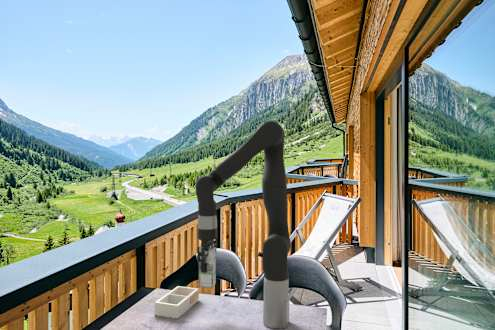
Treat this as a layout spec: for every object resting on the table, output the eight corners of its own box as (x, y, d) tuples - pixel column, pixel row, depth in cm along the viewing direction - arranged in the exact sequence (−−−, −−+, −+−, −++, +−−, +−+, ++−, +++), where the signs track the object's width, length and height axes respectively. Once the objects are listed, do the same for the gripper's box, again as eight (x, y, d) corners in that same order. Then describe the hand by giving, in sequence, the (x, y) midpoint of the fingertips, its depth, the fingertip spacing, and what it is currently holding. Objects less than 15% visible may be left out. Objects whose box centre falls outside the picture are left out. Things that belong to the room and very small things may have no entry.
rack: (199, 300, 155) (199, 288, 155) (178, 319, 137) (178, 306, 137) (177, 297, 158) (177, 285, 158) (154, 315, 140) (154, 302, 140)
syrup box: (216, 283, 143) (216, 246, 143) (213, 288, 137) (213, 250, 137) (201, 282, 144) (201, 246, 144) (198, 287, 138) (198, 249, 138)
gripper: (209, 230, 132) (209, 276, 133) (223, 224, 146) (223, 265, 146) (190, 229, 134) (190, 274, 135) (205, 223, 148) (205, 263, 148)
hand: (207, 269), depth 140 cm, fingers closed on syrup box, 6 cm apart
